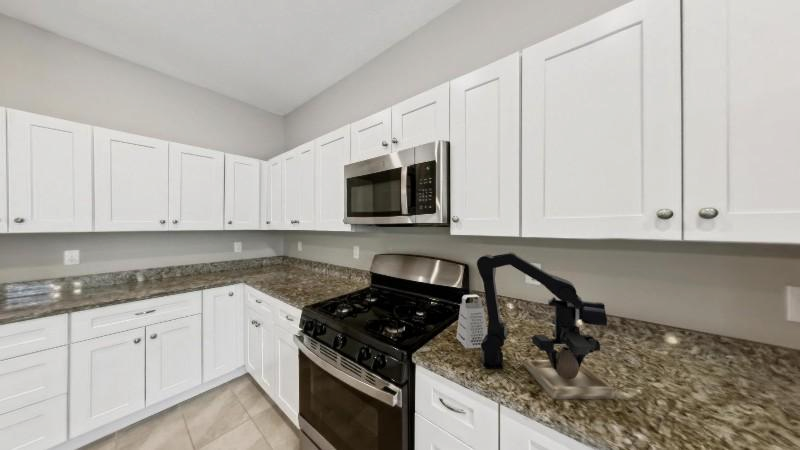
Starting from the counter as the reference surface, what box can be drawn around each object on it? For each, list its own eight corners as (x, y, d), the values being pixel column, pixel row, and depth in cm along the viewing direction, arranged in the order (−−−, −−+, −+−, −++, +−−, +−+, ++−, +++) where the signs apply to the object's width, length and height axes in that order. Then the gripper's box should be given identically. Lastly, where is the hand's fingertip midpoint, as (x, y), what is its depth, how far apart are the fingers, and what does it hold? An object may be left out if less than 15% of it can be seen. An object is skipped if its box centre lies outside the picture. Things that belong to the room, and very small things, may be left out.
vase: (578, 385, 78) (580, 356, 77) (552, 377, 81) (553, 349, 81) (577, 374, 83) (578, 347, 83) (552, 367, 87) (553, 341, 87)
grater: (489, 346, 107) (489, 298, 107) (465, 348, 105) (465, 299, 105) (478, 335, 117) (477, 292, 117) (456, 337, 116) (455, 293, 116)
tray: (552, 399, 74) (552, 388, 74) (525, 368, 90) (525, 360, 90) (614, 398, 74) (614, 388, 74) (576, 368, 90) (576, 359, 90)
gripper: (550, 330, 74) (550, 384, 74) (615, 330, 74) (615, 384, 74) (531, 317, 85) (531, 363, 85) (587, 316, 85) (587, 363, 85)
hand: (565, 368), depth 82 cm, fingers closed on vase, 7 cm apart
